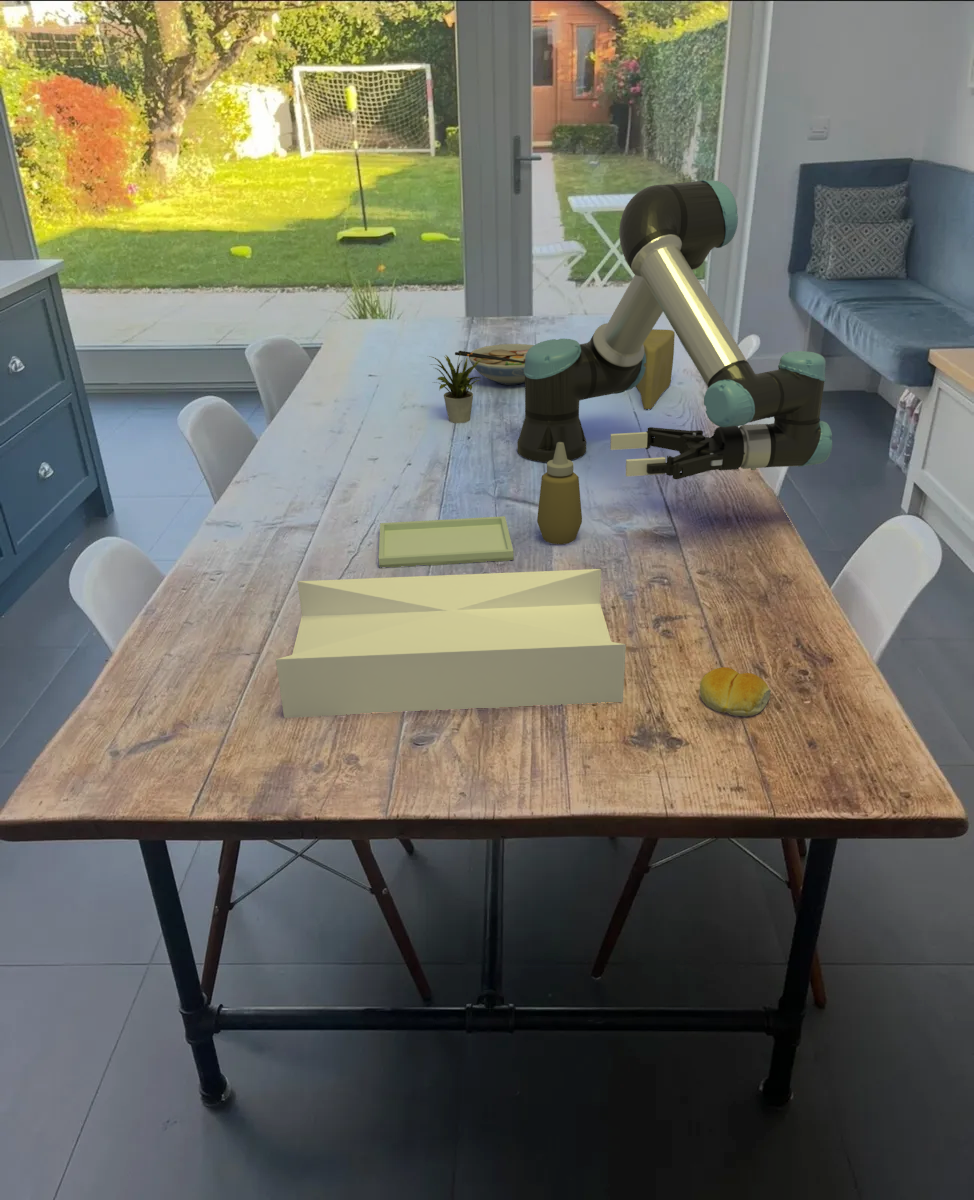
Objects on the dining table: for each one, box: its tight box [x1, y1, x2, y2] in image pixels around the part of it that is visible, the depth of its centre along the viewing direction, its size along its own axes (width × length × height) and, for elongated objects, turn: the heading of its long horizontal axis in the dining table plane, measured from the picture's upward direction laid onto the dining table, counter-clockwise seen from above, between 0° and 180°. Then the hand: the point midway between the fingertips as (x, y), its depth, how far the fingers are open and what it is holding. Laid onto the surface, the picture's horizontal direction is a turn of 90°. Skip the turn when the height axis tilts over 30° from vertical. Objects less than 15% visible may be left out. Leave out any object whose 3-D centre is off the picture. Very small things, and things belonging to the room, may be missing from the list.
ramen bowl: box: [454, 343, 535, 386], centre depth 266 cm, size 25×23×8 cm
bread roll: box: [699, 666, 771, 717], centre depth 132 cm, size 8×9×4 cm
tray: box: [378, 515, 515, 568], centre depth 177 cm, size 23×15×2 cm, turn 95°
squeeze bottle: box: [536, 442, 583, 545], centre depth 175 cm, size 8×8×18 cm
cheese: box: [635, 328, 676, 410], centre depth 249 cm, size 22×10×15 cm, turn 168°
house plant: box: [428, 353, 484, 424], centre depth 236 cm, size 14×14×16 cm
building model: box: [275, 568, 627, 719], centre depth 140 cm, size 45×22×10 cm, turn 92°
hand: (617, 454), depth 172 cm, fingers open, 13 cm apart
